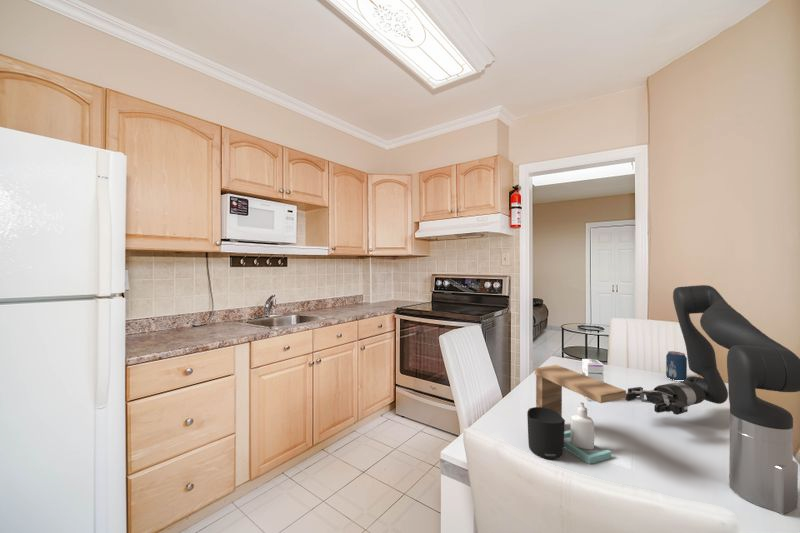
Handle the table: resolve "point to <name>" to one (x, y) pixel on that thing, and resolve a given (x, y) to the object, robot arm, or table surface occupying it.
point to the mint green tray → (586, 451)
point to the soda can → (676, 365)
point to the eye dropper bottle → (582, 429)
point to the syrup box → (592, 370)
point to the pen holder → (545, 432)
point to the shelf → (570, 387)
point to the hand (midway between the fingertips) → (640, 402)
